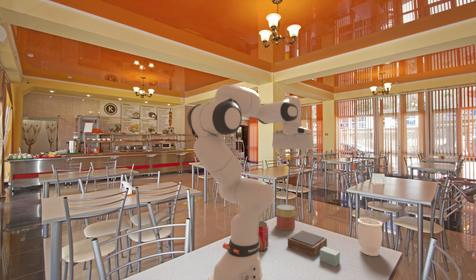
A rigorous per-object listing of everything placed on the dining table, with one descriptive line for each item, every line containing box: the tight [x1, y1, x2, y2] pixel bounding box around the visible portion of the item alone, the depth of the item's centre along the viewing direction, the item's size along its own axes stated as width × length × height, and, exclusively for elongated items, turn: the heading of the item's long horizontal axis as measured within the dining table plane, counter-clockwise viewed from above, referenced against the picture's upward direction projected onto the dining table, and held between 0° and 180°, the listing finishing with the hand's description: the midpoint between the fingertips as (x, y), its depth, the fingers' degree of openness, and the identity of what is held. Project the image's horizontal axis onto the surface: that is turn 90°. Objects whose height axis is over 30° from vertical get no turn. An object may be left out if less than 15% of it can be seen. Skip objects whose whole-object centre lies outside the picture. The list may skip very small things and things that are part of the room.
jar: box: [356, 217, 383, 257], centre depth 109 cm, size 11×10×15 cm
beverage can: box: [258, 220, 269, 251], centre depth 113 cm, size 8×8×12 cm
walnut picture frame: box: [287, 229, 328, 257], centre depth 114 cm, size 14×14×4 cm
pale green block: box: [319, 246, 341, 268], centre depth 100 cm, size 4×7×5 cm, turn 45°
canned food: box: [276, 204, 296, 231], centre depth 140 cm, size 11×11×12 cm
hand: (291, 158), depth 110 cm, fingers open, 8 cm apart
